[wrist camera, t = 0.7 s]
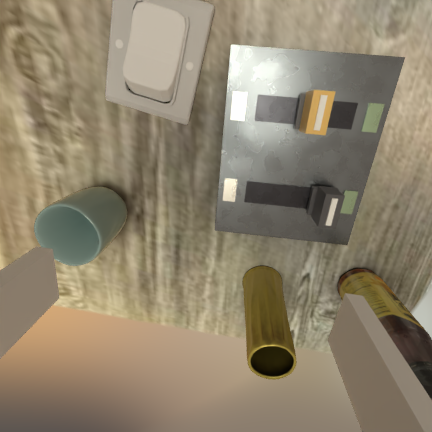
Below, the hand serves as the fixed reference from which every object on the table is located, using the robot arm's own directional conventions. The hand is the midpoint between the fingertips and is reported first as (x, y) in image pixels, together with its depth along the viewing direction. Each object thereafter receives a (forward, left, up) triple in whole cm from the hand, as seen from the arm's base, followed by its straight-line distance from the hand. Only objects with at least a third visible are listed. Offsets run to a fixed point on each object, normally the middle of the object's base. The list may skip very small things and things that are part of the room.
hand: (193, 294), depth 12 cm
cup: (+7, -17, -26) cm, 31 cm away
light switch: (-13, -9, -26) cm, 31 cm away
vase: (+17, +7, -26) cm, 31 cm away
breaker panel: (-3, +8, -25) cm, 27 cm away
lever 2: (+2, +12, -23) cm, 26 cm away
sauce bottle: (+15, +21, -26) cm, 36 cm away
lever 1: (-8, +9, -23) cm, 26 cm away
